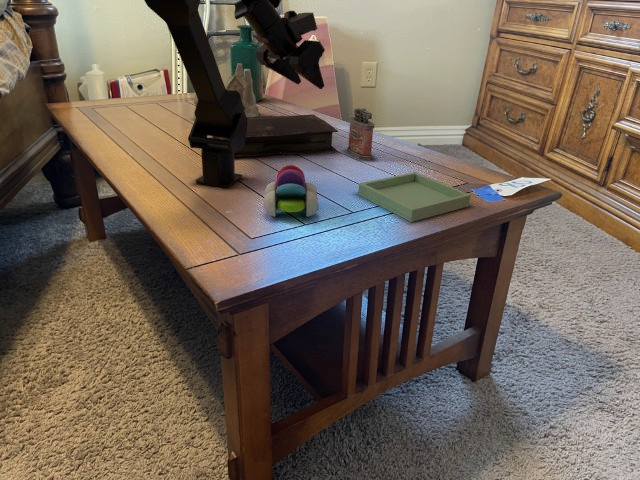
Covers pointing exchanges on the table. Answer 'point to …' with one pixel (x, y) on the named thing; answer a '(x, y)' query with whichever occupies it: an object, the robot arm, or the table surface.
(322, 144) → the diary
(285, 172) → the rainbow wheeled toy
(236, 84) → the ceramic cottage
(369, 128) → the lighter
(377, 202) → the dish
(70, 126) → the table surface
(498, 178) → the table surface
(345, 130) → the table surface
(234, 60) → the pitcher
